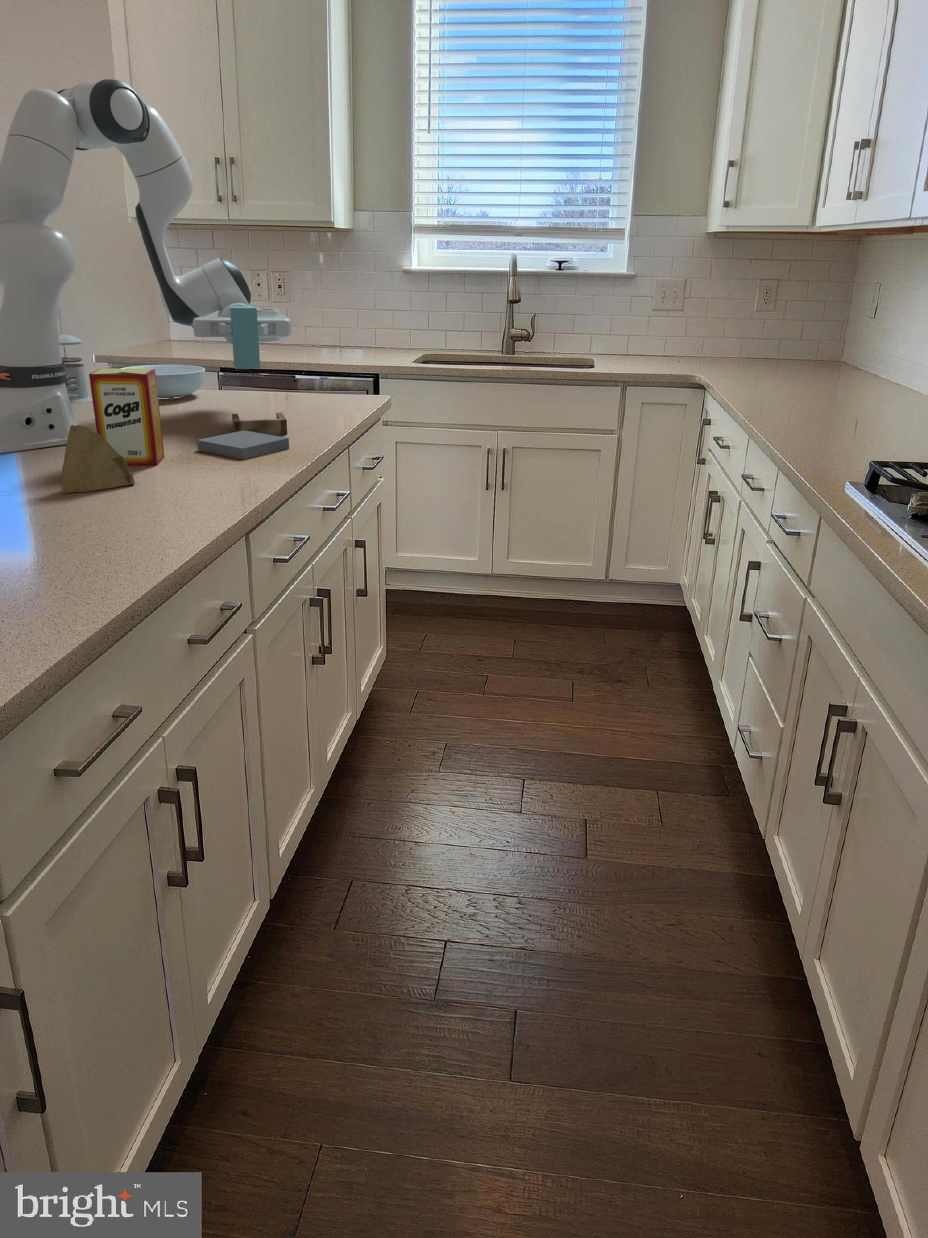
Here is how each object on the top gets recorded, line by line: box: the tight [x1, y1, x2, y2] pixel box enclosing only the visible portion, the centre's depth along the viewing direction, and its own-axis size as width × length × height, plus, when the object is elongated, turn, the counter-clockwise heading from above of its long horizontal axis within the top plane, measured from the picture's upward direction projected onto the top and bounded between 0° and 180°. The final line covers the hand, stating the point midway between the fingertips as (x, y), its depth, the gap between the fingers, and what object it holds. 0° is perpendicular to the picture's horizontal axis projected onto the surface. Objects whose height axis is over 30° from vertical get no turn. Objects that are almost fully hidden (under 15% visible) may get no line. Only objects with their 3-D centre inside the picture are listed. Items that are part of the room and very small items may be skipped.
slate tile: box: [196, 430, 290, 460], centre depth 172 cm, size 12×12×2 cm
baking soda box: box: [88, 368, 165, 467], centre depth 159 cm, size 10×6×16 cm
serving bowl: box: [120, 364, 206, 398], centre depth 225 cm, size 21×21×7 cm
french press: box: [58, 306, 93, 405], centre depth 214 cm, size 10×12×25 cm
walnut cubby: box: [231, 411, 288, 436], centre depth 188 cm, size 10×9×3 cm
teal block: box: [230, 305, 261, 370], centre depth 188 cm, size 5×5×12 cm
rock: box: [61, 424, 136, 495], centre depth 143 cm, size 11×9×10 cm
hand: (245, 330), depth 187 cm, fingers closed on teal block, 5 cm apart
